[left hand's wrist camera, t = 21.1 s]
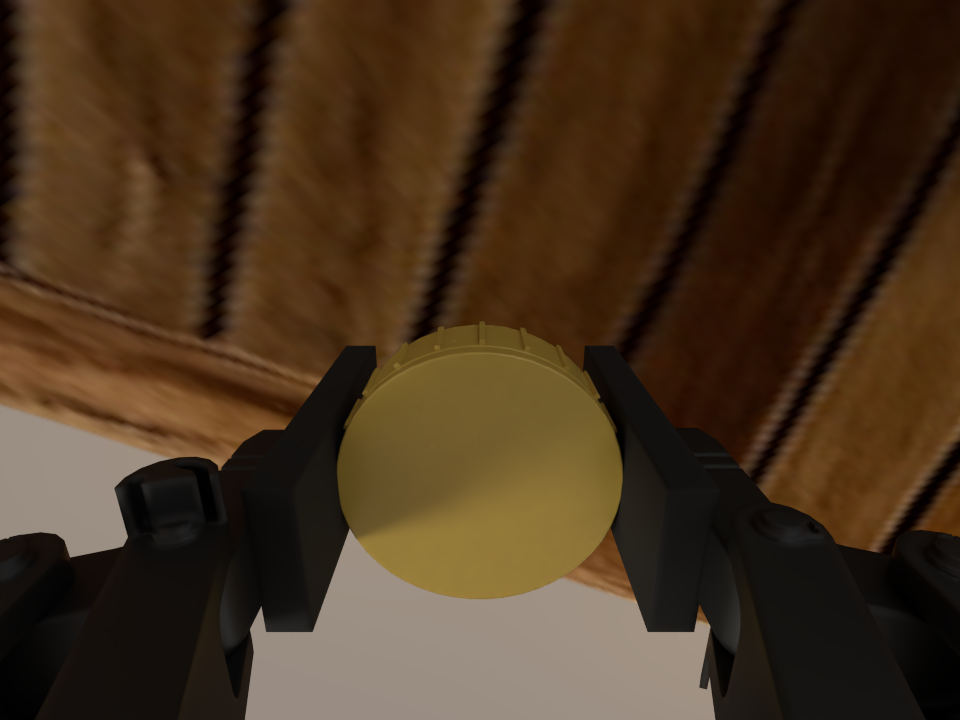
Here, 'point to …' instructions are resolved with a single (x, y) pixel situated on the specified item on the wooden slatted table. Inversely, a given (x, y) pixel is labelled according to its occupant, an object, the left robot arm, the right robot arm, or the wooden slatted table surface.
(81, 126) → the wooden slatted table surface
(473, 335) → the lid
